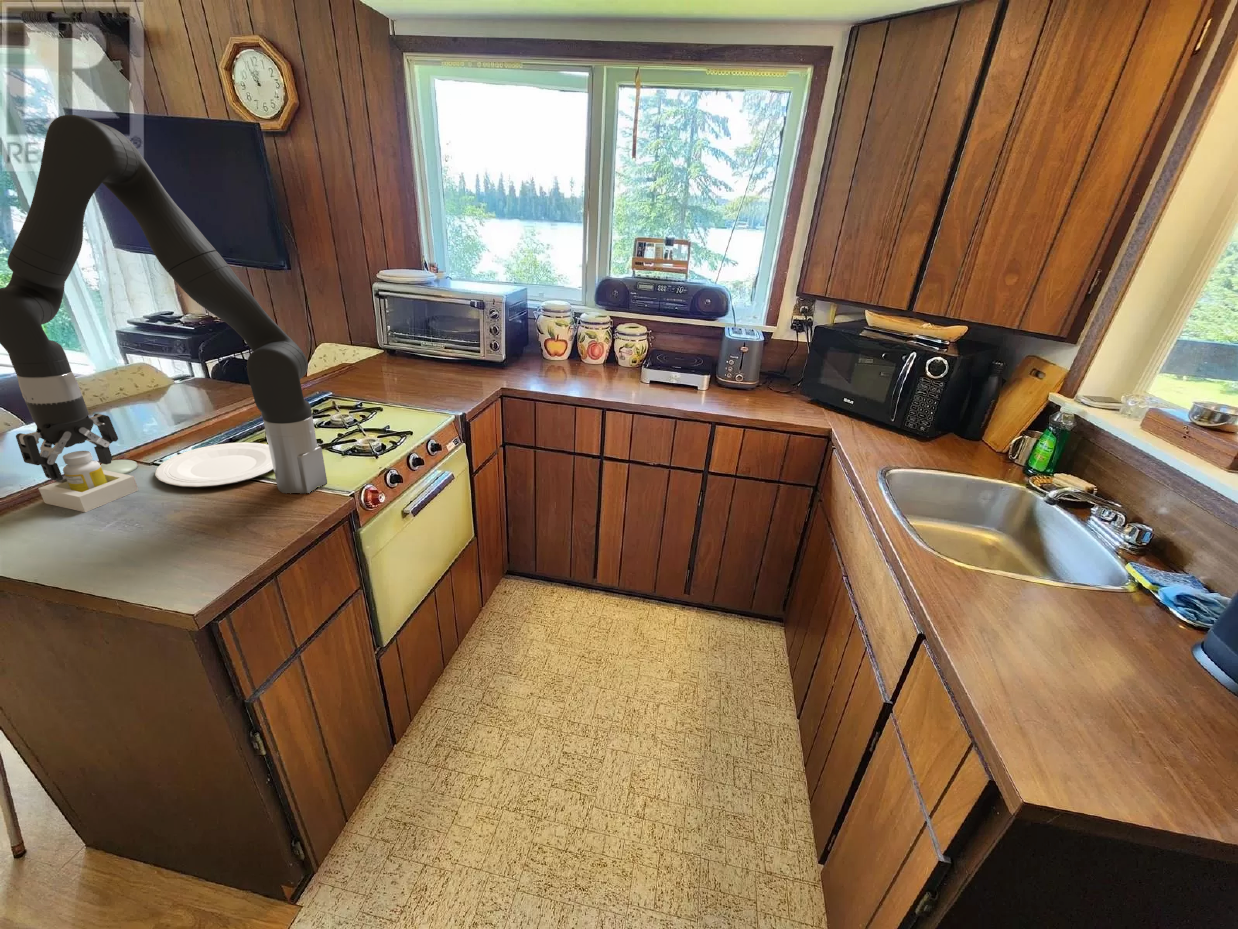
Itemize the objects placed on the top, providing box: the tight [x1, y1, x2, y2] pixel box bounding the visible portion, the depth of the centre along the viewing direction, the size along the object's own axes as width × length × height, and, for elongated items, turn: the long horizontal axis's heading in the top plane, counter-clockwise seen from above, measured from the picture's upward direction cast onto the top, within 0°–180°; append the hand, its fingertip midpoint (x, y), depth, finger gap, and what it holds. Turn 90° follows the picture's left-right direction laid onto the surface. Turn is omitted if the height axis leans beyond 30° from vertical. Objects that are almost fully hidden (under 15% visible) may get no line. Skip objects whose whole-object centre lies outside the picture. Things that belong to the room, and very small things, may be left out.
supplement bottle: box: [62, 450, 107, 492], centre depth 102 cm, size 5×5×10 cm
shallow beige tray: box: [38, 470, 139, 513], centre depth 104 cm, size 10×10×4 cm
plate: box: [154, 441, 274, 488], centre depth 121 cm, size 25×25×2 cm
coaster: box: [101, 459, 138, 475], centre depth 115 cm, size 9×9×1 cm
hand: (82, 471), depth 102 cm, fingers open, 8 cm apart
